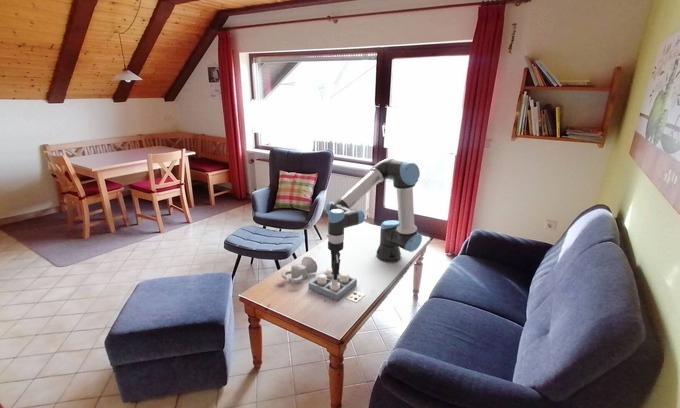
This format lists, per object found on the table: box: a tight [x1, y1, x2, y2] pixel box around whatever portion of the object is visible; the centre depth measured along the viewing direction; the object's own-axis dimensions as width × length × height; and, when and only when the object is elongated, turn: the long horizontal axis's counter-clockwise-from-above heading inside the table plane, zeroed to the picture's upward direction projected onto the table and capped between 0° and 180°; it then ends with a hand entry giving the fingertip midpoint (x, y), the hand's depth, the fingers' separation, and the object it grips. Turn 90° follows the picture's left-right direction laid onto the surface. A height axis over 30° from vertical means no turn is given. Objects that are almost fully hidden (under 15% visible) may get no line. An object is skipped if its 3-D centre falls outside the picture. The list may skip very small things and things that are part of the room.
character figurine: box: [281, 256, 318, 283], centre depth 186 cm, size 13×9×20 cm
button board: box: [308, 271, 358, 303], centre depth 178 cm, size 18×18×4 cm
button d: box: [326, 267, 333, 279], centre depth 182 cm, size 5×5×4 cm
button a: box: [330, 282, 340, 292], centre depth 172 cm, size 5×5×4 cm
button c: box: [339, 271, 350, 284], centre depth 178 cm, size 5×5×4 cm
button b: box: [316, 273, 327, 286], centre depth 176 cm, size 5×5×4 cm
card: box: [345, 290, 365, 304], centre depth 171 cm, size 8×6×1 cm
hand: (334, 283), depth 171 cm, fingers closed
